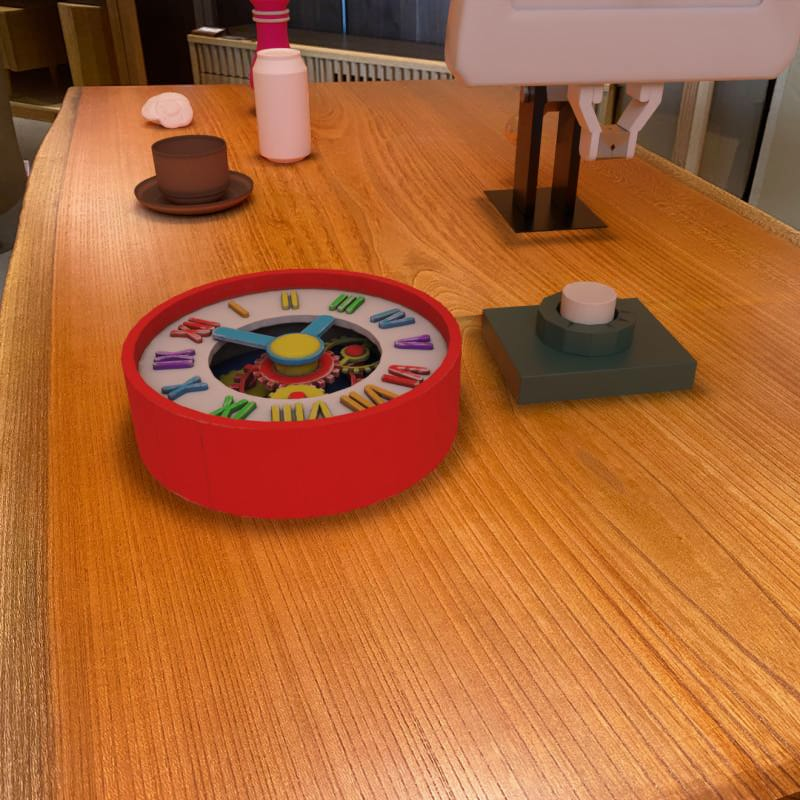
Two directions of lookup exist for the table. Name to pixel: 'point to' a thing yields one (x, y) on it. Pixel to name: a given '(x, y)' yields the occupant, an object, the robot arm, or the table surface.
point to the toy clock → (294, 391)
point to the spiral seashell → (168, 110)
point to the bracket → (526, 201)
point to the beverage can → (282, 105)
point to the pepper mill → (270, 26)
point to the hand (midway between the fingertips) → (605, 158)
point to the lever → (553, 103)
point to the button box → (584, 353)
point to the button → (588, 303)
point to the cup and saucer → (192, 177)
